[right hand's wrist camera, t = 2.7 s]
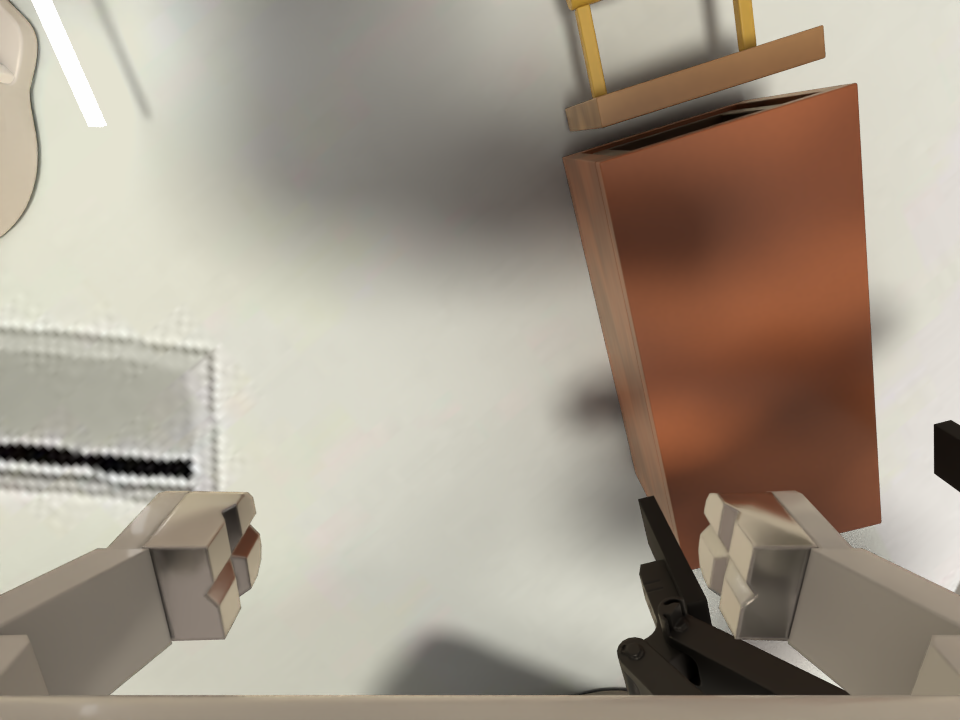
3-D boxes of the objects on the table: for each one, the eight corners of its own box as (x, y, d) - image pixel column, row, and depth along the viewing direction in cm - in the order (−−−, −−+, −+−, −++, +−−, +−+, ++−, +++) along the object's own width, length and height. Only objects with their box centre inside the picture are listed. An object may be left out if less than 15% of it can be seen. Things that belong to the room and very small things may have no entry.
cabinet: (561, 157, 32) (599, 162, 23) (744, 100, 31) (858, 82, 22) (635, 473, 40) (685, 572, 31) (784, 434, 39) (882, 523, 30)
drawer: (540, 1, 29) (566, -48, 21) (721, -60, 28) (812, -132, 21) (637, 434, 38) (679, 504, 30) (777, 396, 37) (854, 459, 29)
